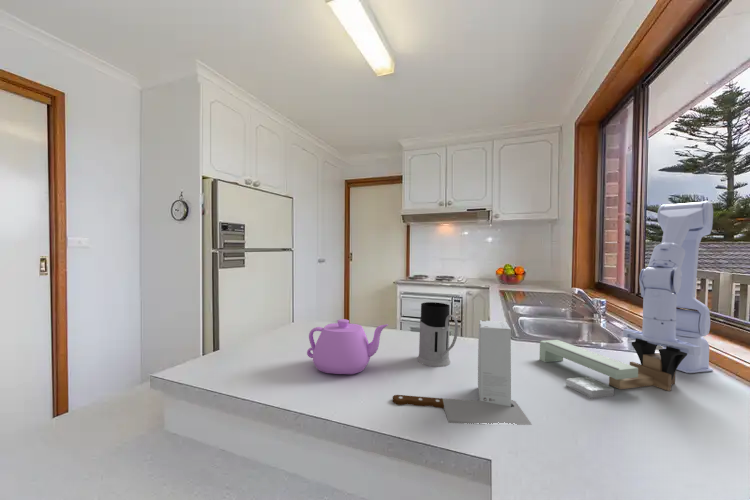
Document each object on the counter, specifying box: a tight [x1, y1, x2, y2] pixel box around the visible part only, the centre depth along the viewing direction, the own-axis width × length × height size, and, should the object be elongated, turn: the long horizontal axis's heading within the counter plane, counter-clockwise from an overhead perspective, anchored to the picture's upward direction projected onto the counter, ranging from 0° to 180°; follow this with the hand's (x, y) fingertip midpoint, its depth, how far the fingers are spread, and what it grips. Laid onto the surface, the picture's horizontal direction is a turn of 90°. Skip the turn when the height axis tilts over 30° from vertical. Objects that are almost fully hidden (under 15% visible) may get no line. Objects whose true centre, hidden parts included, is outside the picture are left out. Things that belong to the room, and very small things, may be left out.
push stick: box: [608, 352, 676, 392], centre depth 71 cm, size 16×8×6 cm, turn 105°
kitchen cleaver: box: [392, 394, 533, 426], centre depth 56 cm, size 24×1×10 cm
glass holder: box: [417, 301, 459, 368], centre depth 79 cm, size 9×14×15 cm, turn 21°
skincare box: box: [477, 319, 512, 407], centre depth 62 cm, size 8×6×15 cm
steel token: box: [565, 376, 615, 399], centre depth 66 cm, size 6×6×2 cm
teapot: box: [306, 318, 389, 376], centre depth 75 cm, size 20×13×12 cm, turn 85°
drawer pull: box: [539, 339, 638, 379], centre depth 76 cm, size 6×21×6 cm, turn 15°
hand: (657, 376), depth 72 cm, fingers closed on push stick, 3 cm apart
